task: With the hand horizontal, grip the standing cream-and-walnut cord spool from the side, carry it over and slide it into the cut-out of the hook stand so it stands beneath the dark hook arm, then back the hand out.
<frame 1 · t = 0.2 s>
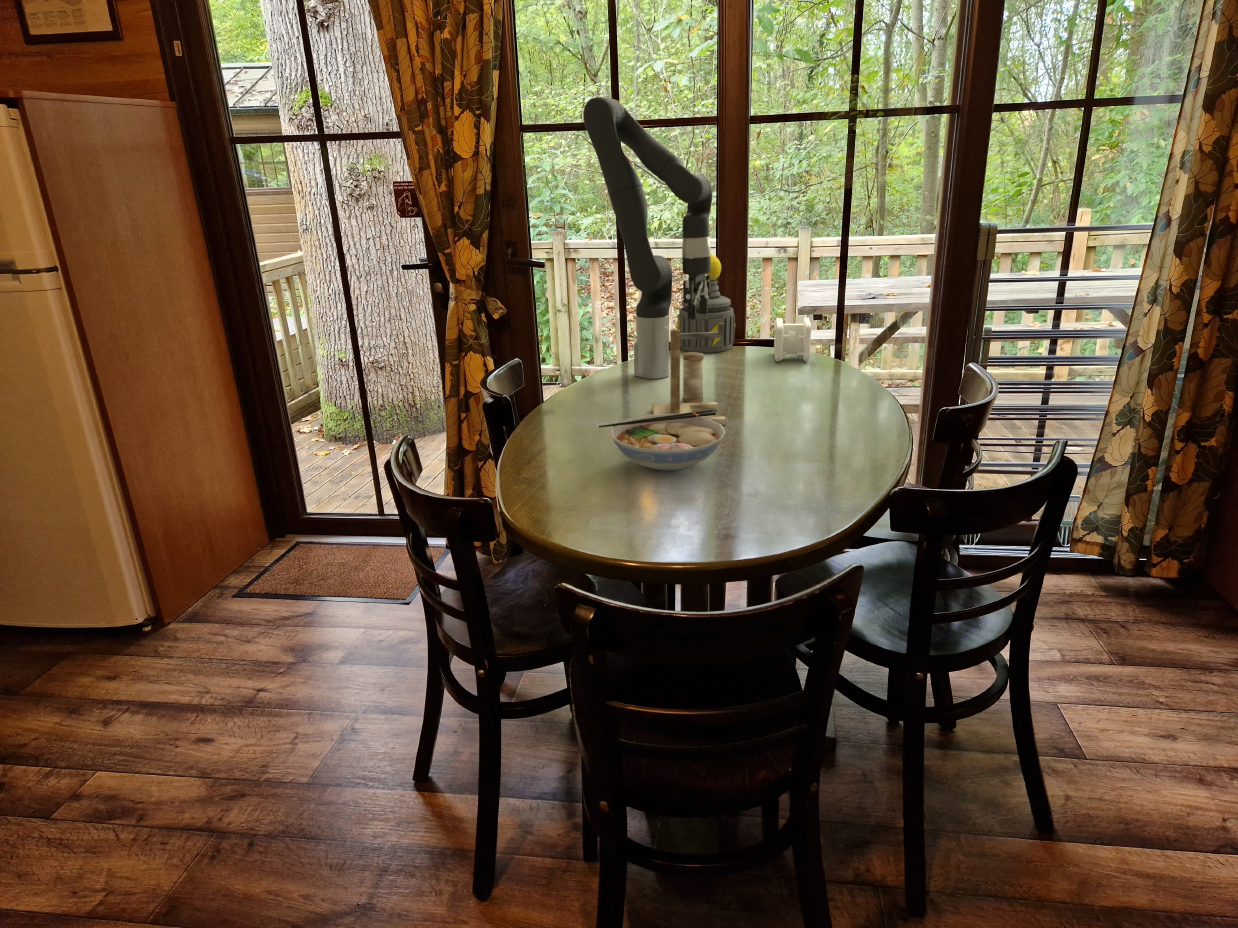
hand: (697, 316, 213), 18 cm above the table, tool pointing down, fingers open, 8 cm apart
hook stand: (687, 417, 187), on the table
ramen bowl: (667, 466, 158), on the table
decorative lamp: (705, 348, 259), on the table
cable organizer: (790, 359, 241), on the table
cord spool: (692, 400, 201), on the table
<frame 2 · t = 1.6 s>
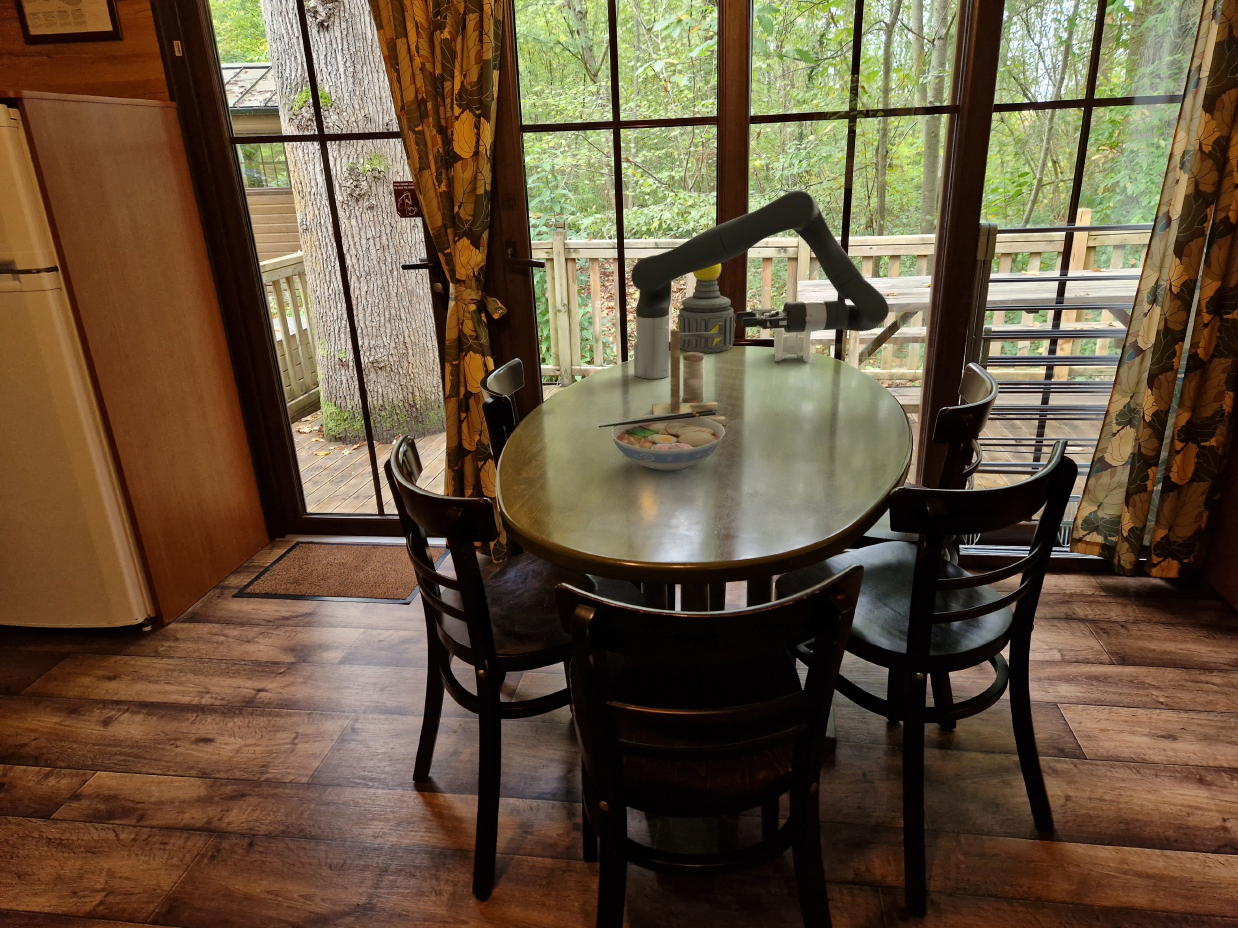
hand: (738, 319, 194), 20 cm above the table, tool horizontal, fingers open, 8 cm apart
nothing on the table moved.
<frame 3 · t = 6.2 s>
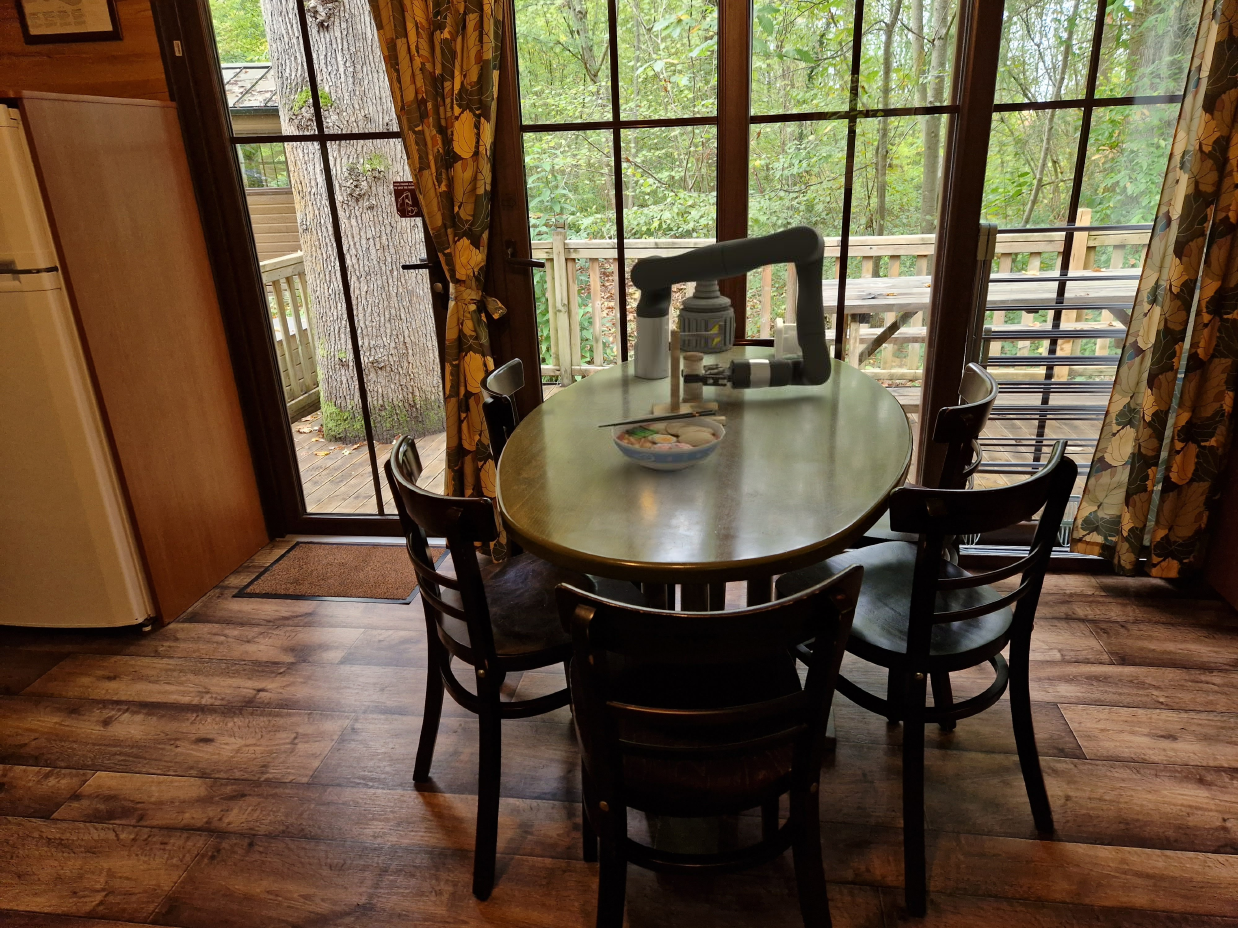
hand: (682, 376, 198), 7 cm above the table, tool horizontal, fingers closed on cord spool, 5 cm apart
cord spool: (692, 400, 201), on the table, touching gripper
everything else where it was.
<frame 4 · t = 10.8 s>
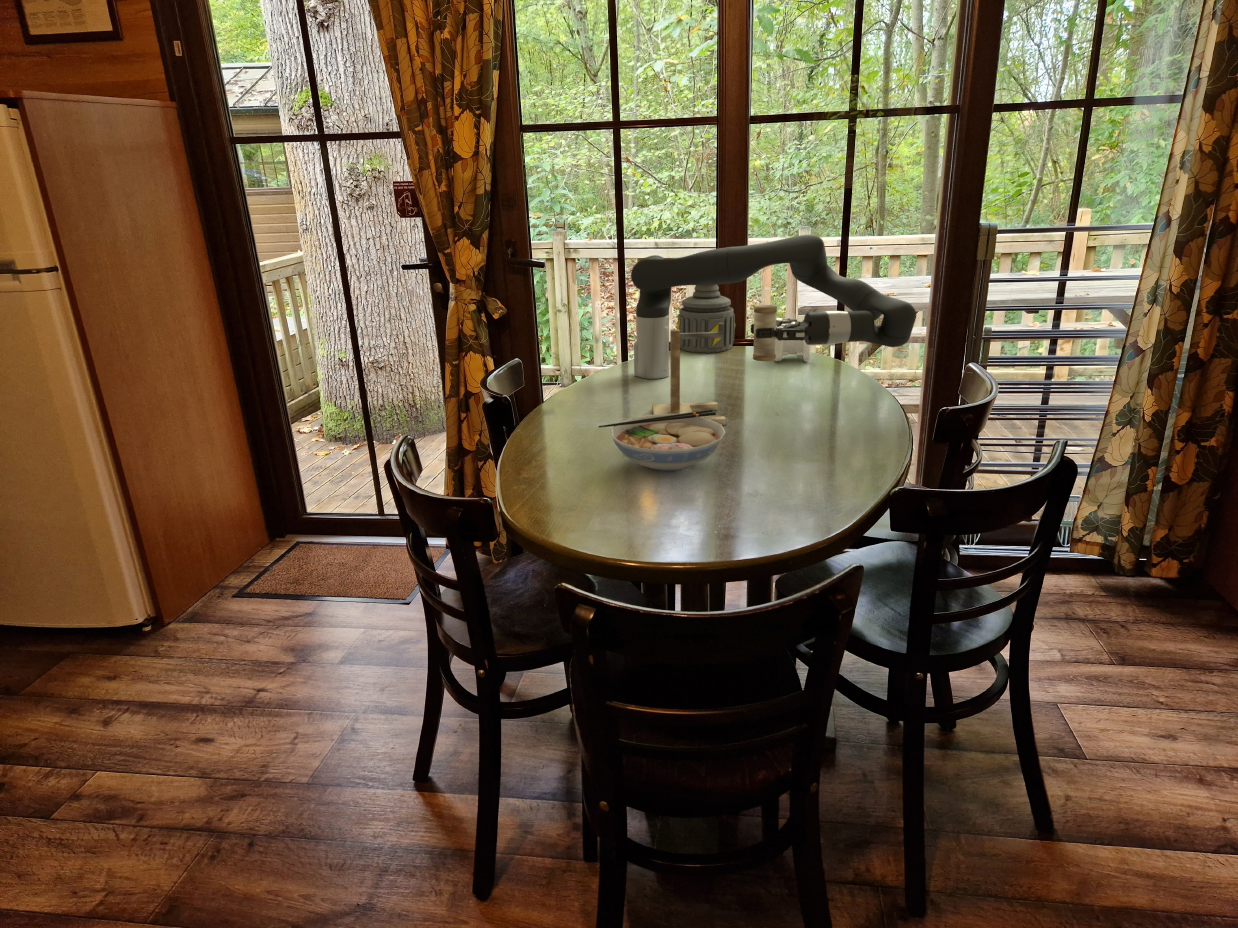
hand: (753, 331, 181), 20 cm above the table, tool horizontal, fingers closed on cord spool, 5 cm apart
cord spool: (764, 358, 183), point 14 cm above the table, touching gripper
everything else where it was.
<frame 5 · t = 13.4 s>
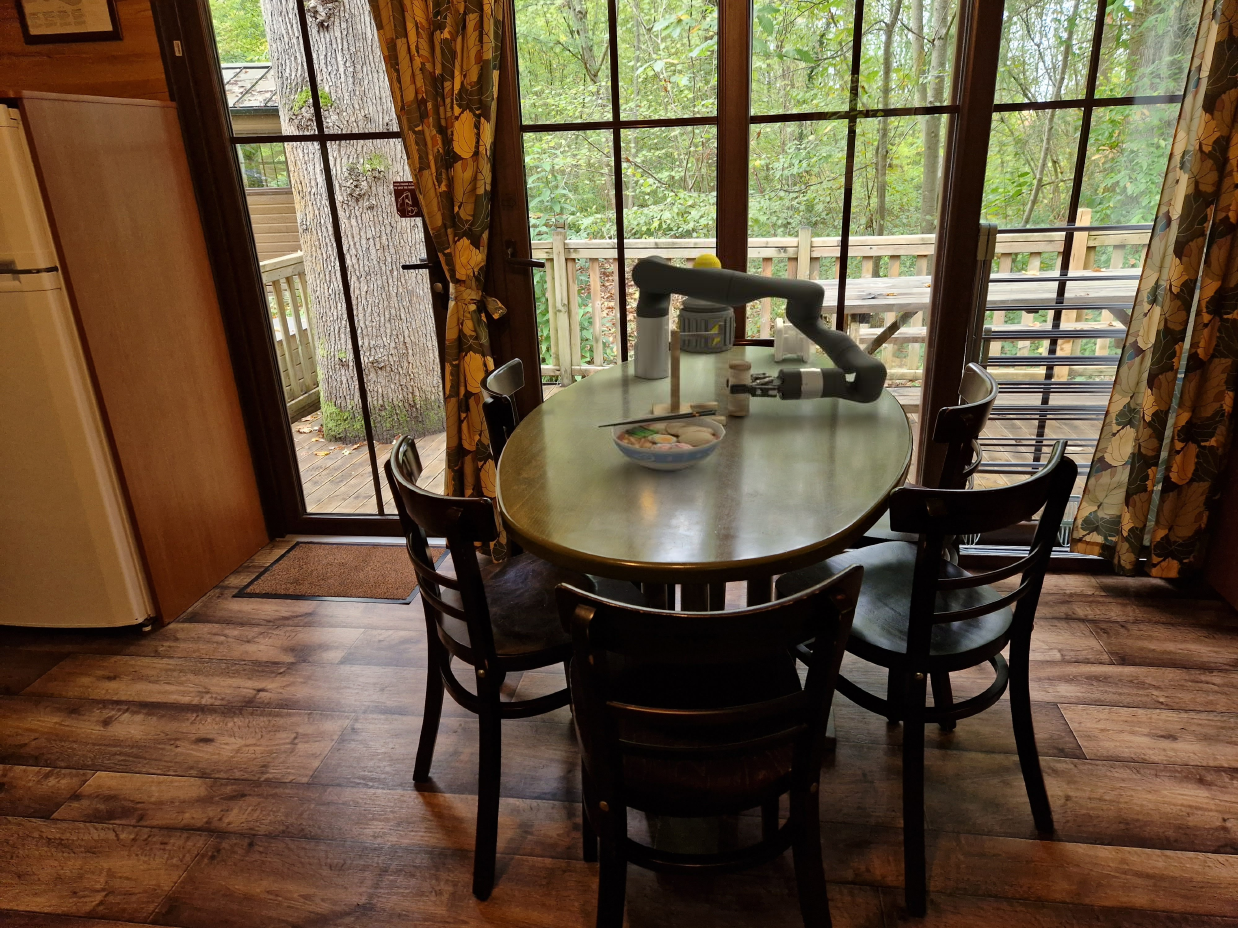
hand: (728, 386, 185), 7 cm above the table, tool horizontal, fingers closed on cord spool, 5 cm apart
cord spool: (738, 412, 187), point 1 cm above the table, touching gripper
everything else where it was.
when the fingers open (7 cm above the table, at t = 15.6 s): cord spool stays where it is, on the table.
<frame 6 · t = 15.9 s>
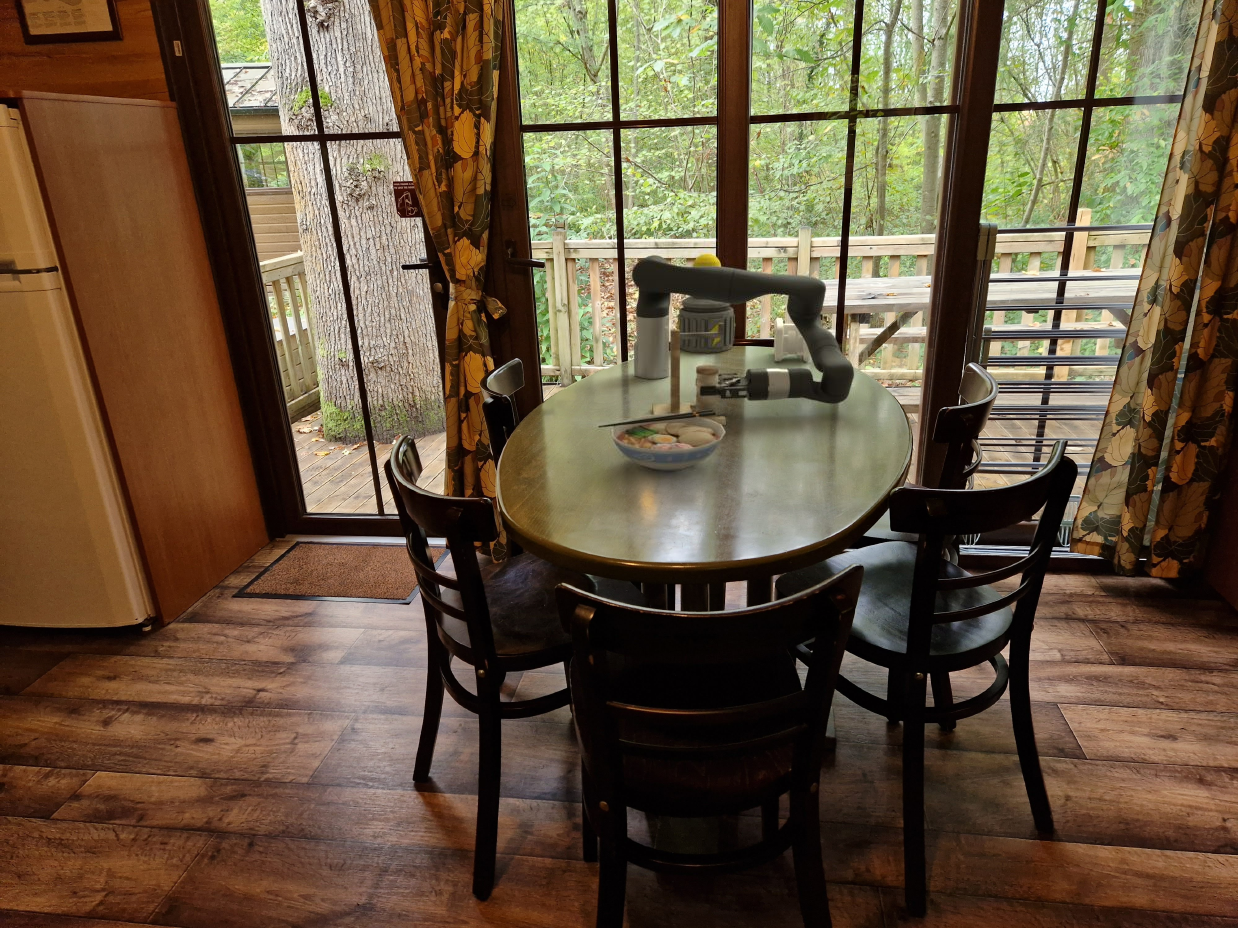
hand: (697, 386, 185), 7 cm above the table, tool horizontal, fingers open, 7 cm apart
cord spool: (706, 416, 188), on the table
everything else where it was.
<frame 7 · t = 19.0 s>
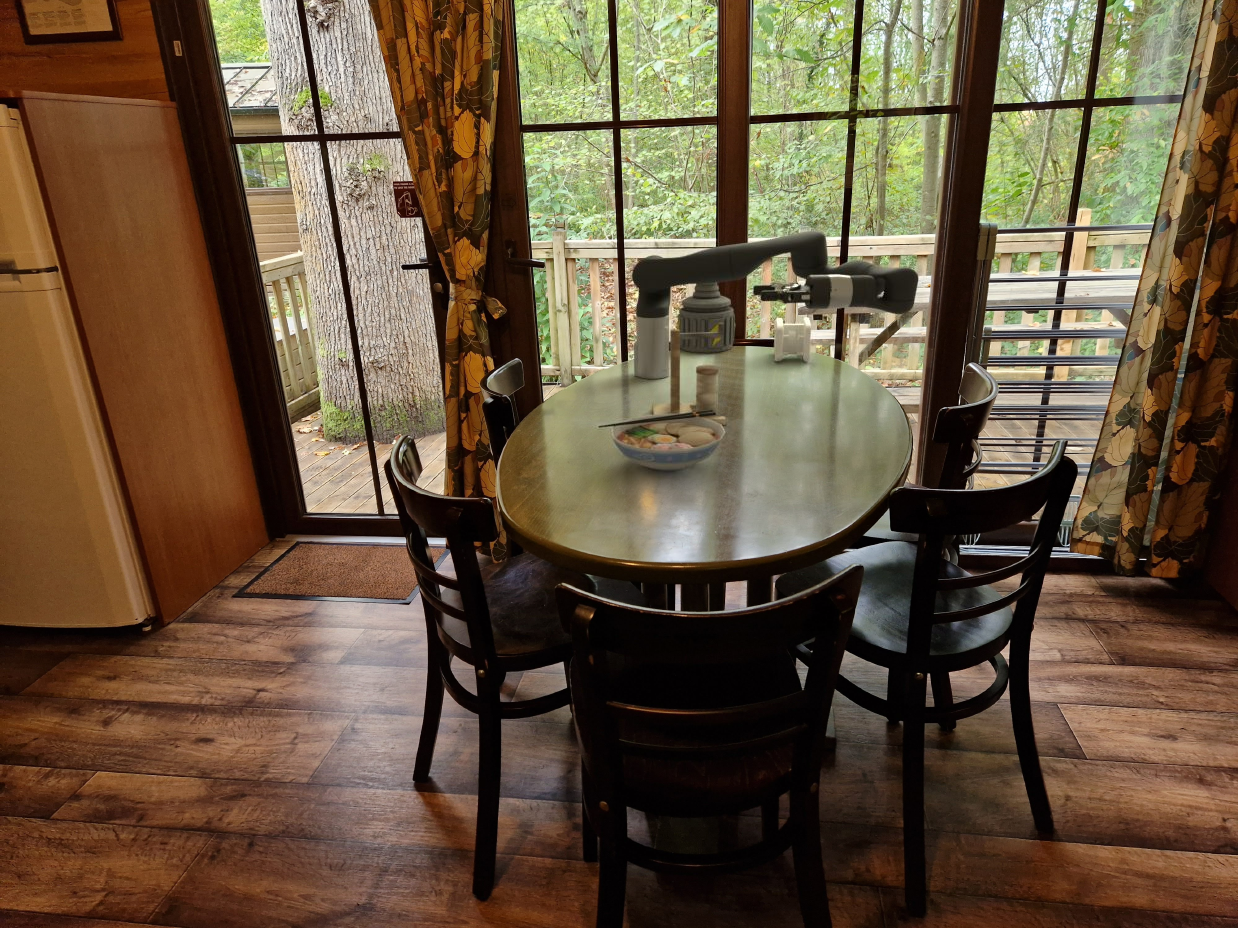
hand: (757, 293, 177), 29 cm above the table, tool horizontal, fingers open, 8 cm apart
nothing on the table moved.
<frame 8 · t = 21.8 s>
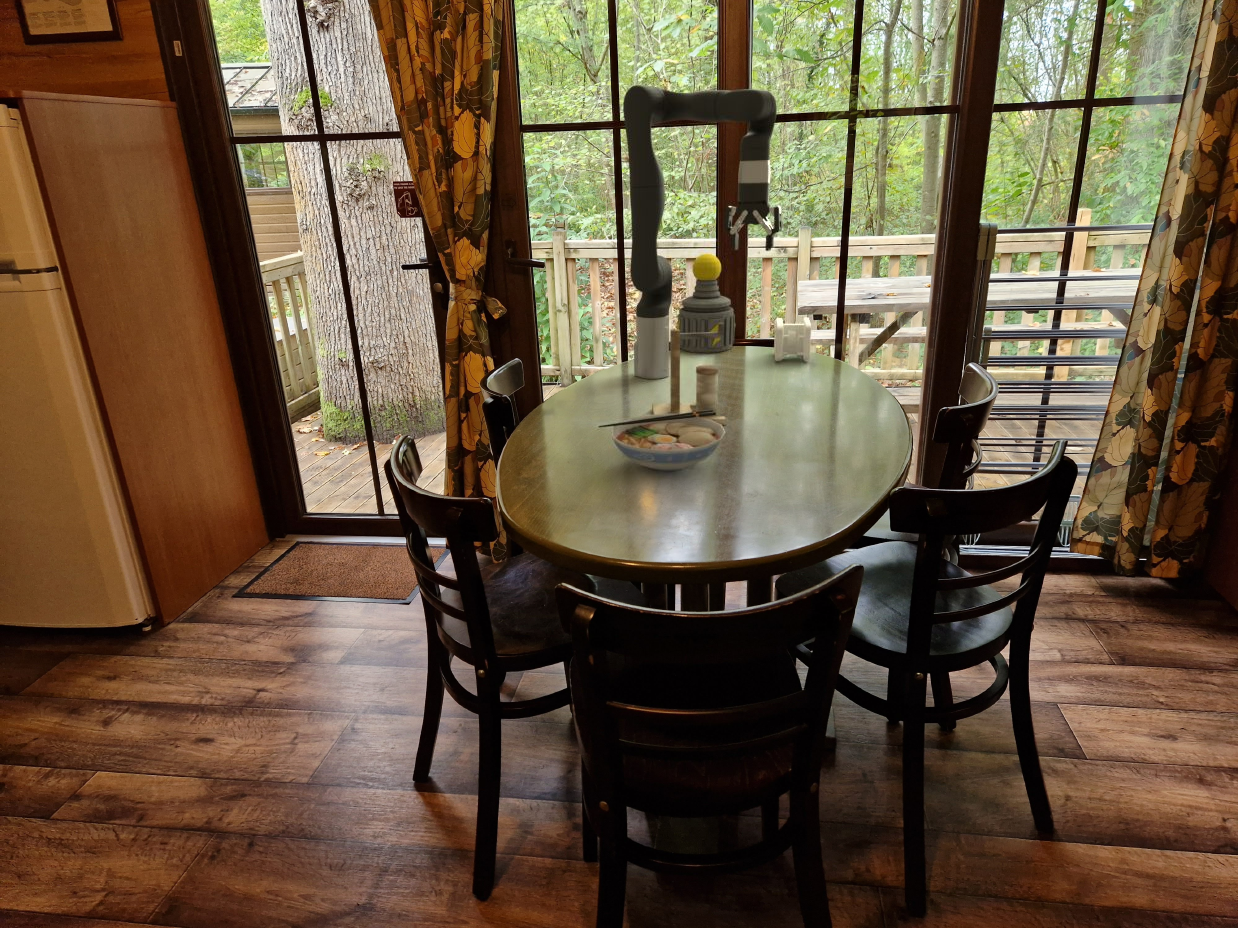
hand: (751, 250, 195), 36 cm above the table, tool pointing down, fingers open, 8 cm apart
nothing on the table moved.
at the end: cord spool inside the target area (0.1 cm from its centre), on the table; cord spool tilted 0°; the gripper is holding nothing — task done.
